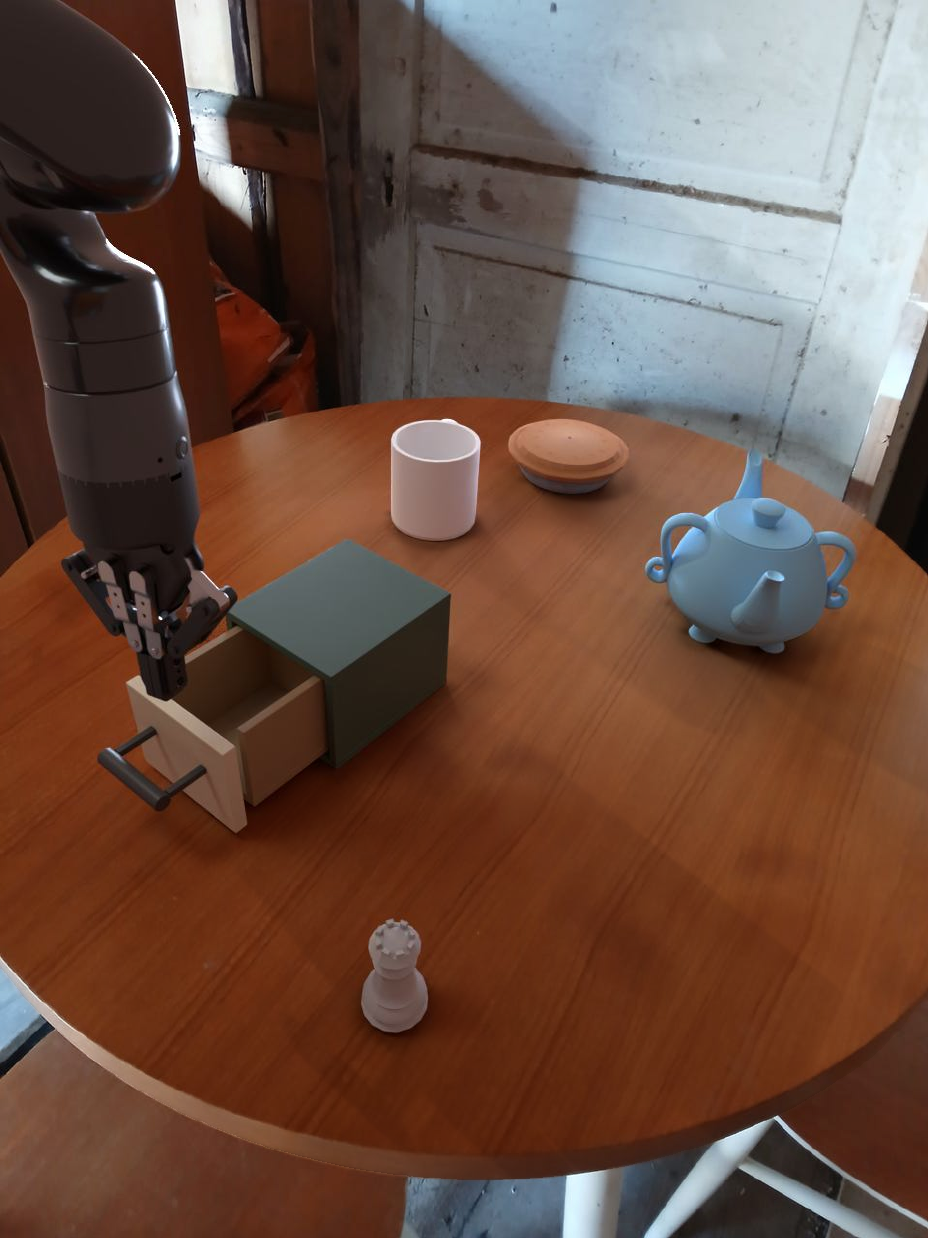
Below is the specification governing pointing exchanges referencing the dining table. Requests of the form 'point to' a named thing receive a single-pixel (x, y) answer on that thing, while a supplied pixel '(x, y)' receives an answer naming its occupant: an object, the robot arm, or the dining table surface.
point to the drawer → (226, 728)
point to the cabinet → (355, 638)
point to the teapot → (751, 569)
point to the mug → (434, 479)
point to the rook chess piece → (394, 979)
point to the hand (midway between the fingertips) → (167, 692)
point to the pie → (567, 455)
